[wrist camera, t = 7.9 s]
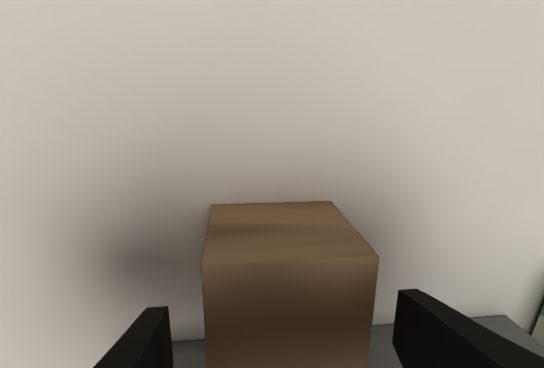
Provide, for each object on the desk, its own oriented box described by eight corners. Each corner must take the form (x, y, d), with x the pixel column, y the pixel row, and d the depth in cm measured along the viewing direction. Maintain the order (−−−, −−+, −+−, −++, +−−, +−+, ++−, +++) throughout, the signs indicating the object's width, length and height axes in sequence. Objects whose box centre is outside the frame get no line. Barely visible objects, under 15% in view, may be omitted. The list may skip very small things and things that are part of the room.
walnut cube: (324, 301, 16) (364, 394, 11) (216, 308, 15) (209, 409, 10) (330, 200, 14) (378, 256, 10) (211, 203, 14) (201, 265, 9)
